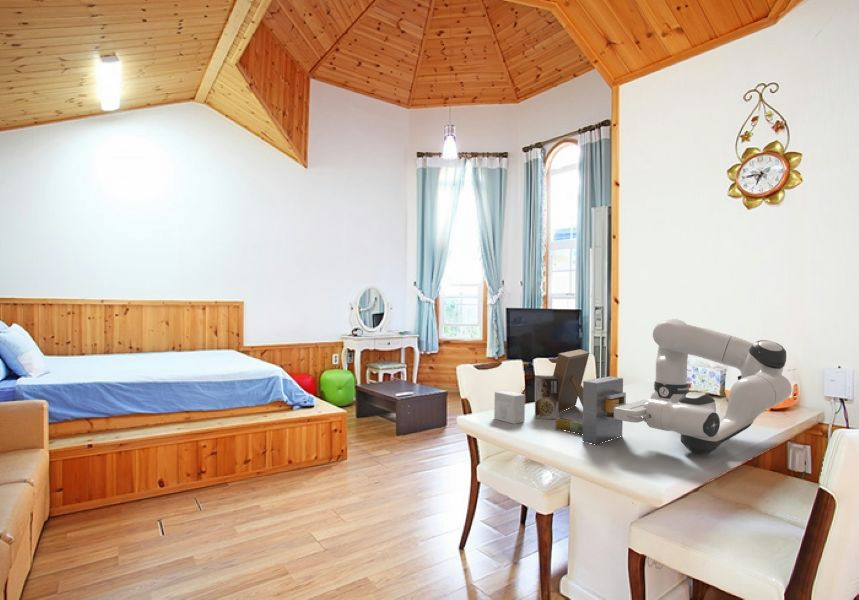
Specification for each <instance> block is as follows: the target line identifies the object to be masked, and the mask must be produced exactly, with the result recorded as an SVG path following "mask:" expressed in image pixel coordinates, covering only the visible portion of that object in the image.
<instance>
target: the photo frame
mask: <svg viewBox="0 0 859 600" xmlns="http://www.w3.org/2000/svg"><path fill="white" fill-rule="evenodd" d="M589 357H590V351H587V350H584V349H576V350H570V351H565V352H560V353H558V355H557V359H556V363H555V367H554V370H553V375H552V376H558V378H559V414H561V413H563V412H565V411H567V410H566V409H568V408H570V409H572V408H574V407H573V406H575V405H576V406H577V402H578V399H579V401H580V404H581V406H582V407H583V385H582V383H583V381H584V380H583V379H584V377H585V371H586V368H587V364H588V360H589ZM576 406H575V407H576ZM571 407H572V408H571ZM564 410H565V411H564ZM568 410H569V409H568ZM562 411H563V412H562ZM560 412H561V413H560Z"/></svg>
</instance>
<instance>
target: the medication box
mask: <svg viewBox="0 0 859 600" xmlns="http://www.w3.org/2000/svg"><path fill="white" fill-rule="evenodd" d="M555 429H556V430H559V429H561V430H560V431H563V430H566V431H565V432H567V431H570V432H569V433H571V432H575V433H574V434H576V433H579V434H578V435H580V434H583V421H577V420H573V419H568V418H562V417H559V418H557V419H555Z"/></svg>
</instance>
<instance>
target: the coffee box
mask: <svg viewBox="0 0 859 600" xmlns="http://www.w3.org/2000/svg"><path fill="white" fill-rule="evenodd" d="M559 415H560V413H559V378H558V376H553V375H542V374H541V375H536V374H535V375H534V418H535V419H536V418H538V419H540V420H556V419H557V418H560V416H559Z"/></svg>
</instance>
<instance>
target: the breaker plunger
mask: <svg viewBox="0 0 859 600" xmlns="http://www.w3.org/2000/svg"><path fill="white" fill-rule="evenodd" d="M617 403H619V399H616V398H614V399H608V398H605V411H606V412H610V413H614V408H613V405H614V404H617Z"/></svg>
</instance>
